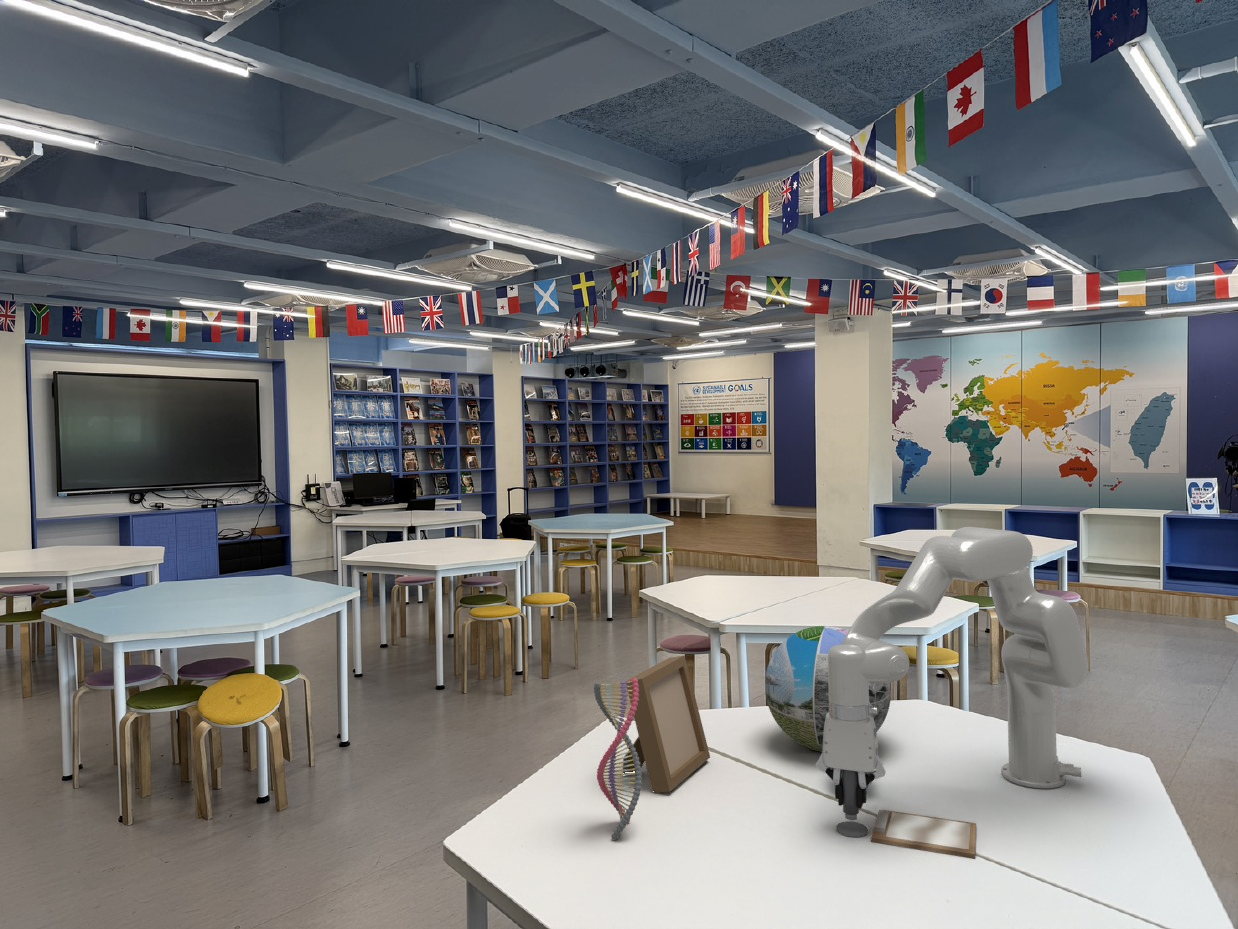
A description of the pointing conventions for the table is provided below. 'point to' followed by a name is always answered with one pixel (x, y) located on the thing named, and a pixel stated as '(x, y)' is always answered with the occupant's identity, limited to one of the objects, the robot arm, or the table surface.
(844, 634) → the photo collage ball
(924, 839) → the clipboard
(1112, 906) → the table surface
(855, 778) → the marker
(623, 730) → the dna model
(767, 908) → the table surface
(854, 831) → the dark grey disc
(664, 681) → the photo frame
